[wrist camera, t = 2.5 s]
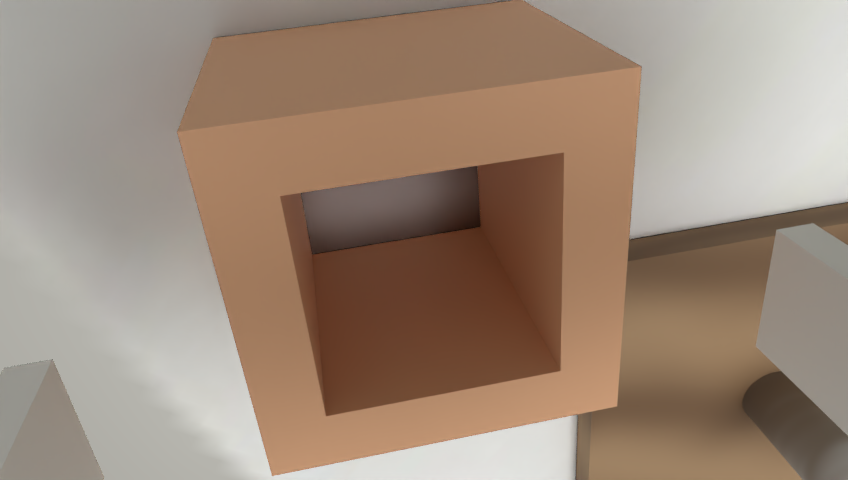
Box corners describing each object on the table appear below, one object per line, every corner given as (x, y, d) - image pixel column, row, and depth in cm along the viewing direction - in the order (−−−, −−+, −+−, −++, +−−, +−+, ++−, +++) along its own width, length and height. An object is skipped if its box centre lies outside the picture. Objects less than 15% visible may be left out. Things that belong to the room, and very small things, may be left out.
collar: (213, 38, 17) (177, 131, 11) (520, -1, 18) (641, 66, 12) (274, 301, 21) (272, 476, 15) (524, 258, 22) (616, 406, 16)
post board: (583, 248, 22) (725, 425, 15) (966, 182, 24) (1254, 315, 17) (574, 531, 29) (668, 745, 22) (871, 465, 31) (1047, 644, 24)
